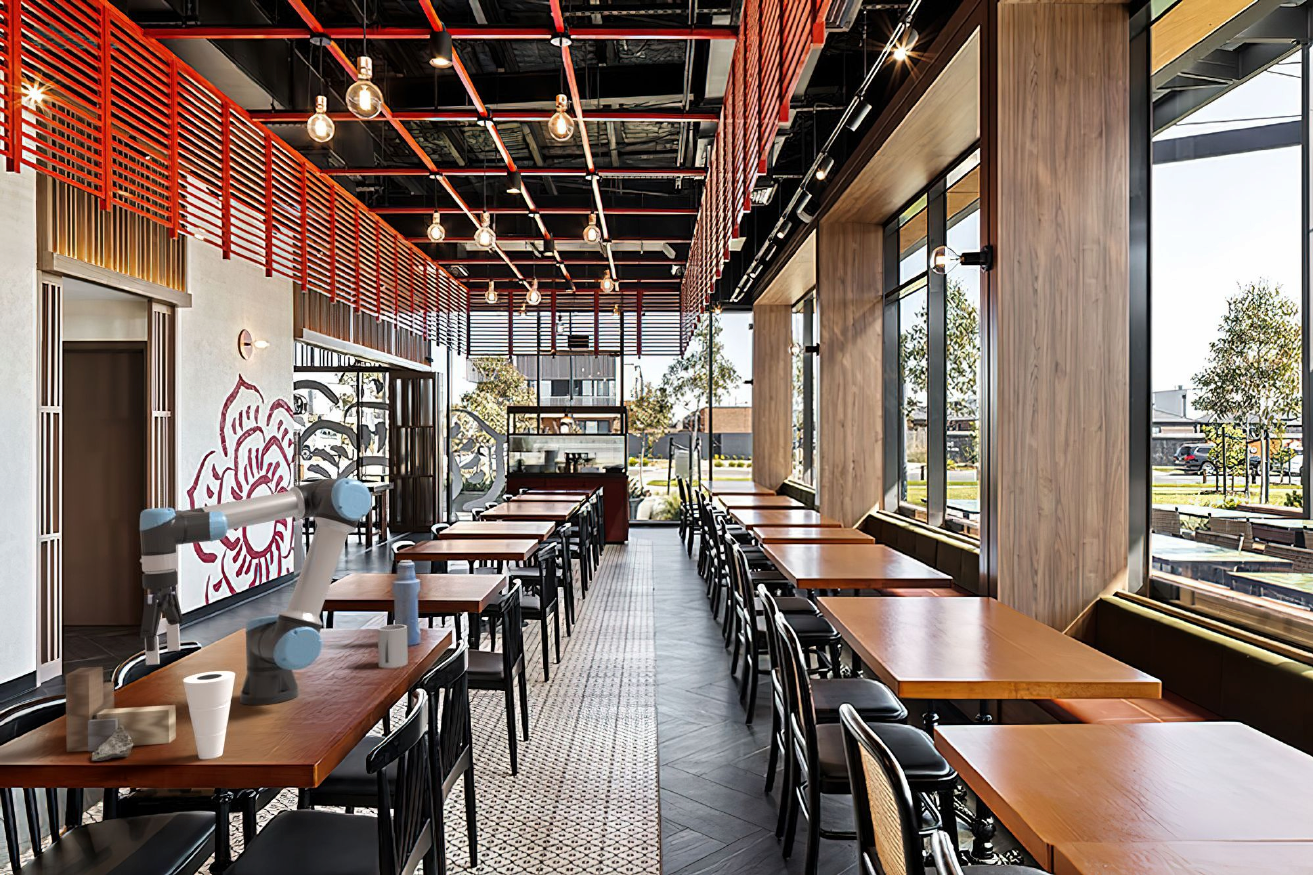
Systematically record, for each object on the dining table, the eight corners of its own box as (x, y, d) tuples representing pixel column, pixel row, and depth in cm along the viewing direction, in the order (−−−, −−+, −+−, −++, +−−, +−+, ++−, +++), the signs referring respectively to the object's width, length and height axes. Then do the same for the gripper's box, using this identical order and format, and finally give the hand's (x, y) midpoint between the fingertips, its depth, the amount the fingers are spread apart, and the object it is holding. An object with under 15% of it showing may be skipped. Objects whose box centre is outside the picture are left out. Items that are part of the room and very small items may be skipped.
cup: (407, 659, 289) (406, 623, 290) (408, 666, 281) (407, 628, 281) (378, 662, 286) (377, 626, 287) (378, 669, 278) (378, 631, 278)
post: (146, 727, 222) (145, 656, 223) (115, 749, 206) (114, 672, 206) (99, 730, 221) (98, 659, 221) (65, 752, 204) (64, 675, 204)
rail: (175, 737, 214) (175, 704, 214) (169, 743, 210) (168, 709, 210) (102, 742, 211) (102, 709, 211) (94, 748, 207) (94, 714, 207)
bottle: (395, 641, 318) (393, 559, 318) (423, 640, 319) (421, 558, 319) (390, 647, 308) (388, 562, 309) (418, 646, 309) (417, 561, 310)
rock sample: (75, 742, 200) (109, 713, 203) (99, 755, 205) (132, 726, 208) (90, 770, 194) (125, 740, 197) (114, 782, 199) (147, 752, 202)
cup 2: (195, 767, 193) (193, 685, 193) (177, 756, 200) (175, 678, 200) (244, 754, 201) (243, 675, 201) (225, 744, 208) (223, 668, 208)
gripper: (162, 564, 226) (166, 646, 226) (121, 580, 202) (125, 671, 202) (193, 562, 228) (197, 643, 228) (156, 578, 203) (160, 668, 203)
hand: (163, 657), depth 215 cm, fingers open, 13 cm apart
